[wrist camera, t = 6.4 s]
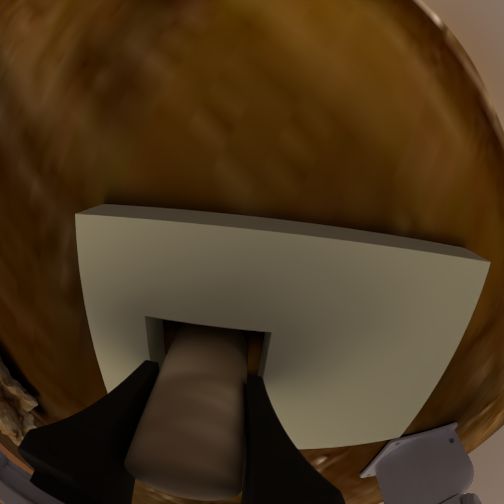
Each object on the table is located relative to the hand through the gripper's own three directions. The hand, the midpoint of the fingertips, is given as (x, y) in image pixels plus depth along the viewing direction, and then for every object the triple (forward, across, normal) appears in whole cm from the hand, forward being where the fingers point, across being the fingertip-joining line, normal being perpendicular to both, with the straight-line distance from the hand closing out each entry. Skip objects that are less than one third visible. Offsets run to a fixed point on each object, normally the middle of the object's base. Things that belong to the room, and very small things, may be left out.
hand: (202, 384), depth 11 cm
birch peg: (+3, 0, 0) cm, 3 cm away
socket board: (+3, -4, 0) cm, 5 cm away
